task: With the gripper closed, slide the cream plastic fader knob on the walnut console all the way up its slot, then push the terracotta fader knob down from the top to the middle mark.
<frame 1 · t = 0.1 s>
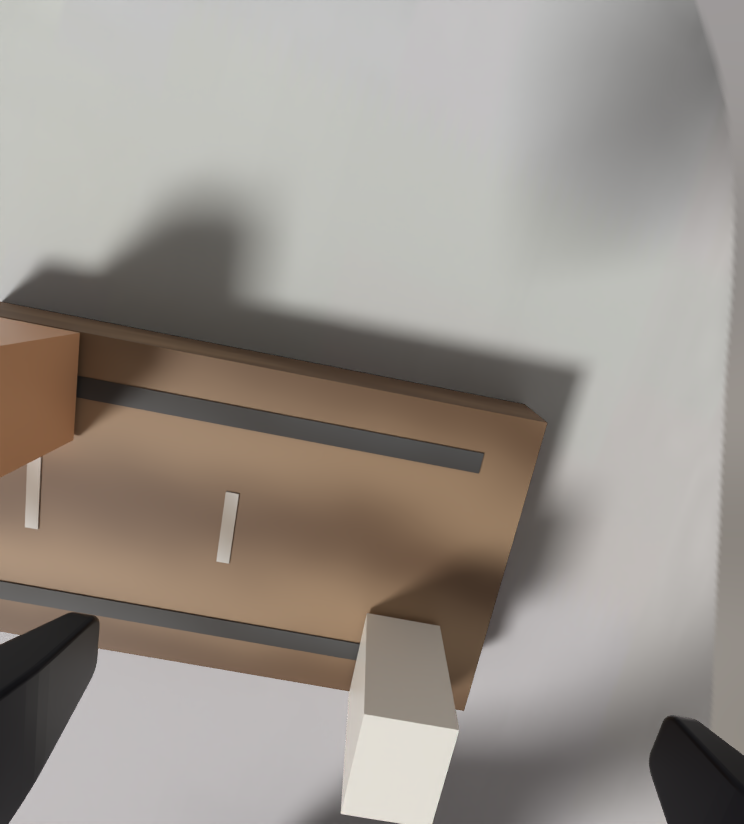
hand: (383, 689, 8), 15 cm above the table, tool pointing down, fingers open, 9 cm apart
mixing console: (246, 496, 23), on the table
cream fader: (395, 709, 19), point 6 cm above the table, slide at 0.0 cm
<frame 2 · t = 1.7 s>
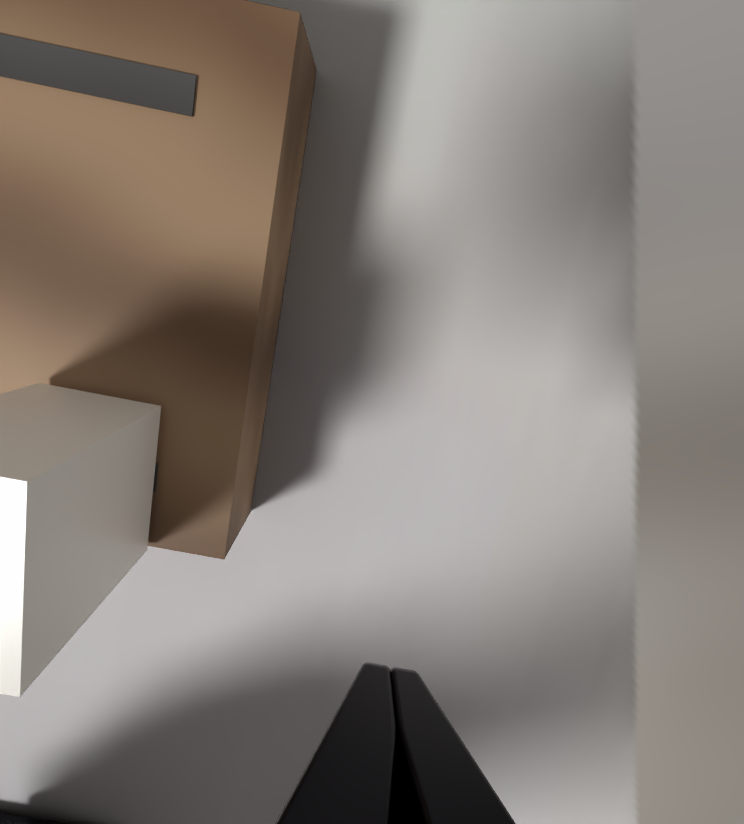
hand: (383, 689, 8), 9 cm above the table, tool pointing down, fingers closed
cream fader: (31, 511, 11), point 6 cm above the table, slide at 0.0 cm
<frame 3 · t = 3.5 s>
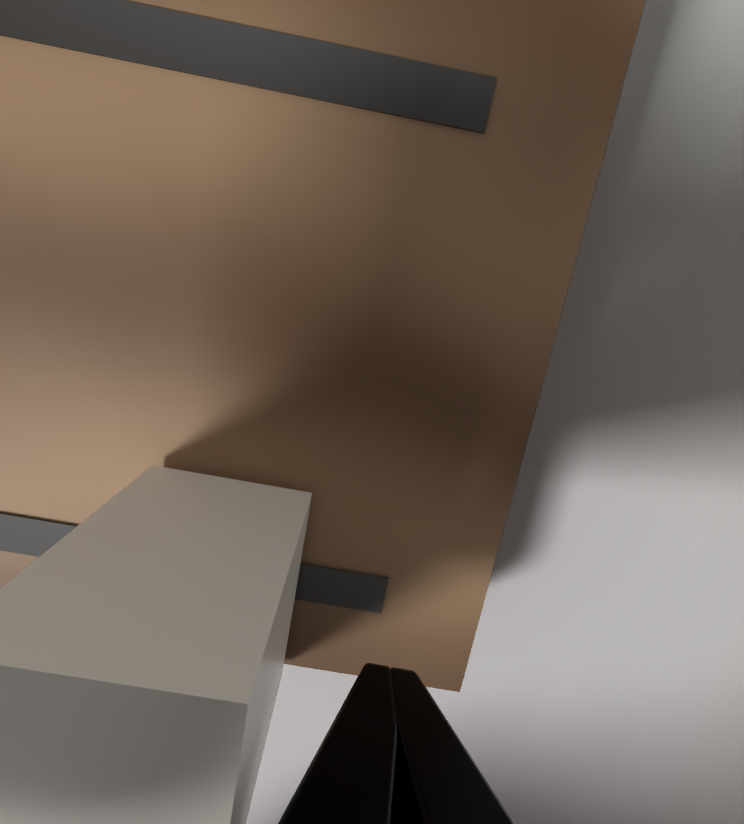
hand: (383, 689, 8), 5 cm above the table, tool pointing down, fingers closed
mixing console: (36, 285, 12), on the table
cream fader: (171, 665, 8), point 6 cm above the table, slide at 1.8 cm, touching gripper
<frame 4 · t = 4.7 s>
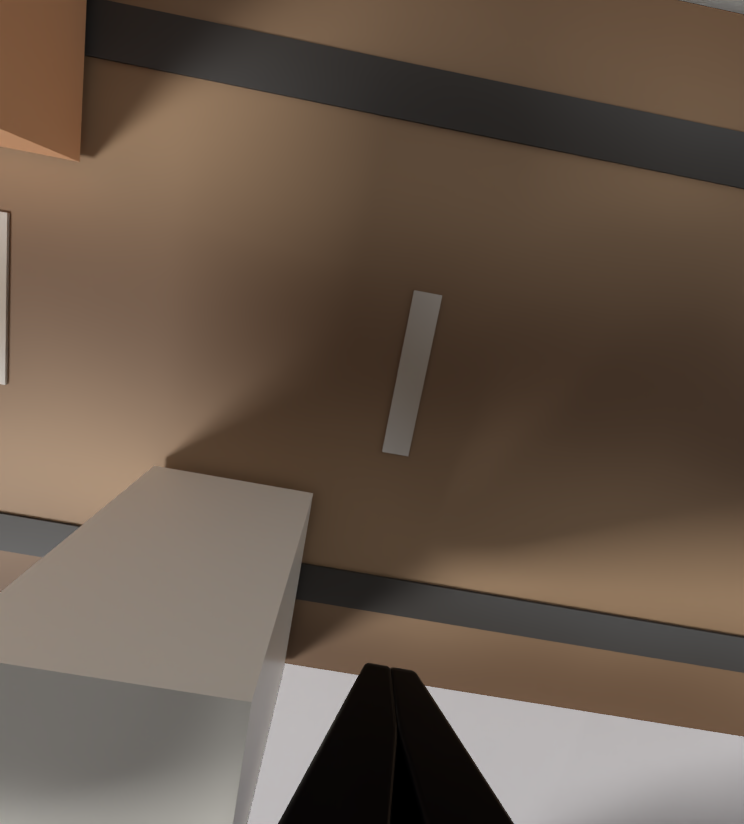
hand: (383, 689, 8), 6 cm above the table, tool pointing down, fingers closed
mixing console: (402, 354, 12), on the table
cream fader: (174, 664, 8), point 6 cm above the table, slide at 10.4 cm, touching gripper
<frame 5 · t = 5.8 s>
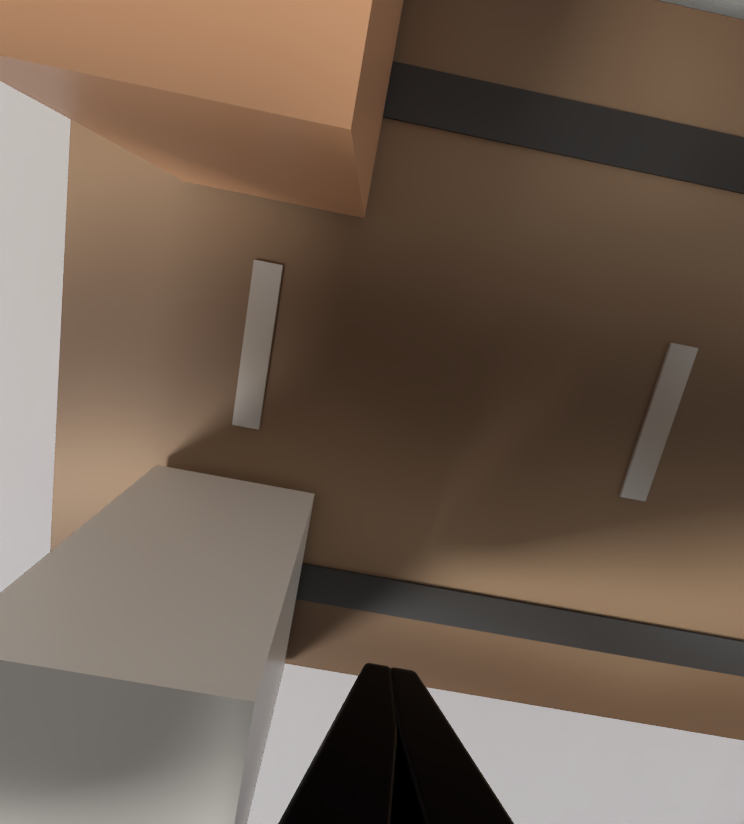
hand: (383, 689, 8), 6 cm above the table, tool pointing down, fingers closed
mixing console: (590, 391, 12), on the table
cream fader: (175, 663, 8), point 6 cm above the table, slide at 15.0 cm, touching gripper
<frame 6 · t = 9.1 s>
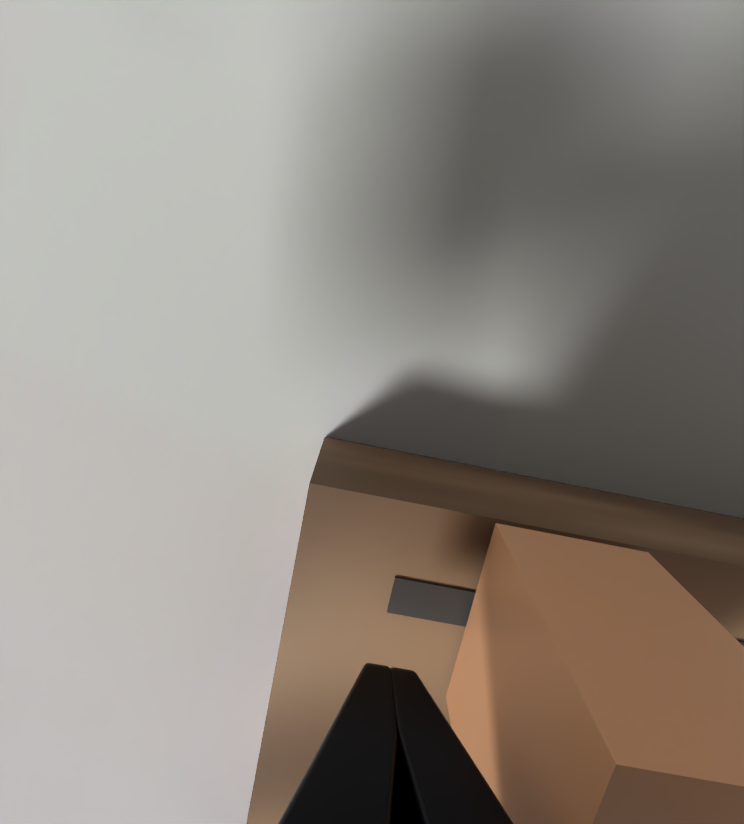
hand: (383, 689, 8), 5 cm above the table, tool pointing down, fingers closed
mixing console: (664, 725, 15), on the table
terracotta fader: (594, 734, 8), point 6 cm above the table, slide at 13.4 cm, touching gripper
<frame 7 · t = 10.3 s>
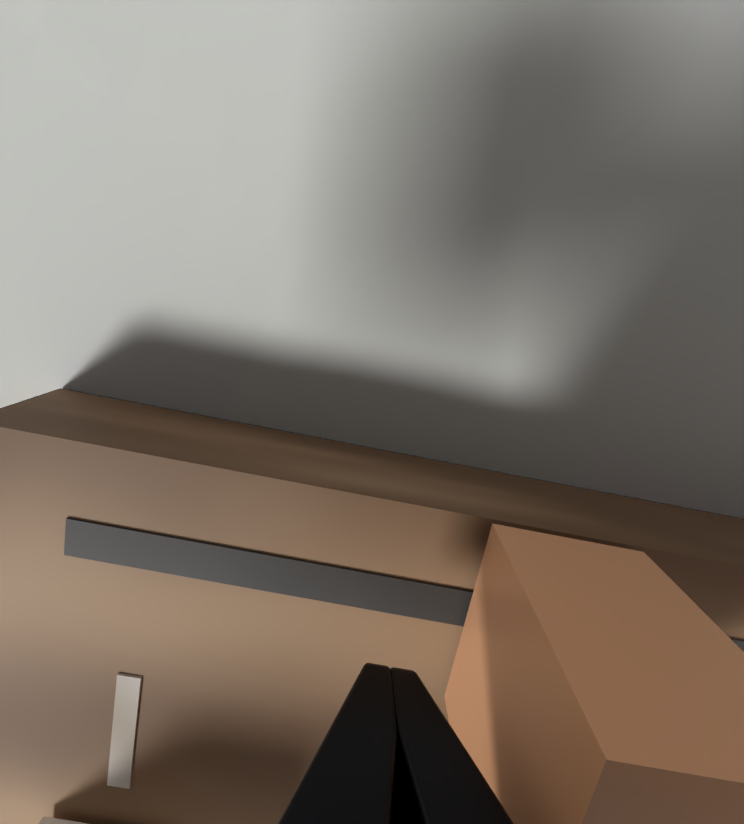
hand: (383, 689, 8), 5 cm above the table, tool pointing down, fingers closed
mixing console: (441, 685, 14), on the table
terracotta fader: (590, 732, 8), point 6 cm above the table, slide at 6.9 cm, touching gripper
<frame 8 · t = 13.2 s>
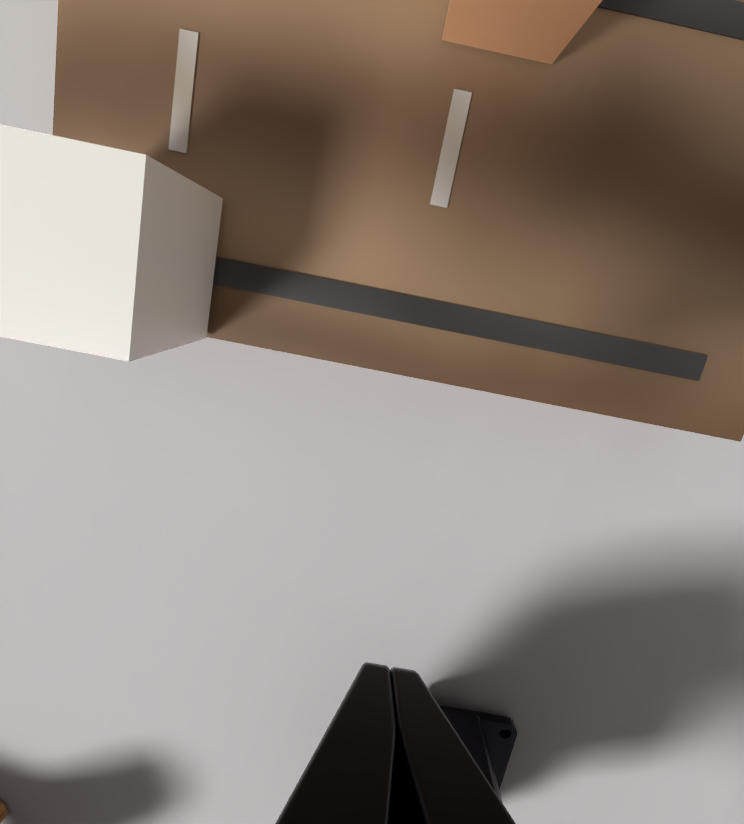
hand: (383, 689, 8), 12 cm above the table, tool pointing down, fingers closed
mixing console: (437, 173, 17), on the table
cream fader: (122, 255, 13), point 6 cm above the table, slide at 15.0 cm
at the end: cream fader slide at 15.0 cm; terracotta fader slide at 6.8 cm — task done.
